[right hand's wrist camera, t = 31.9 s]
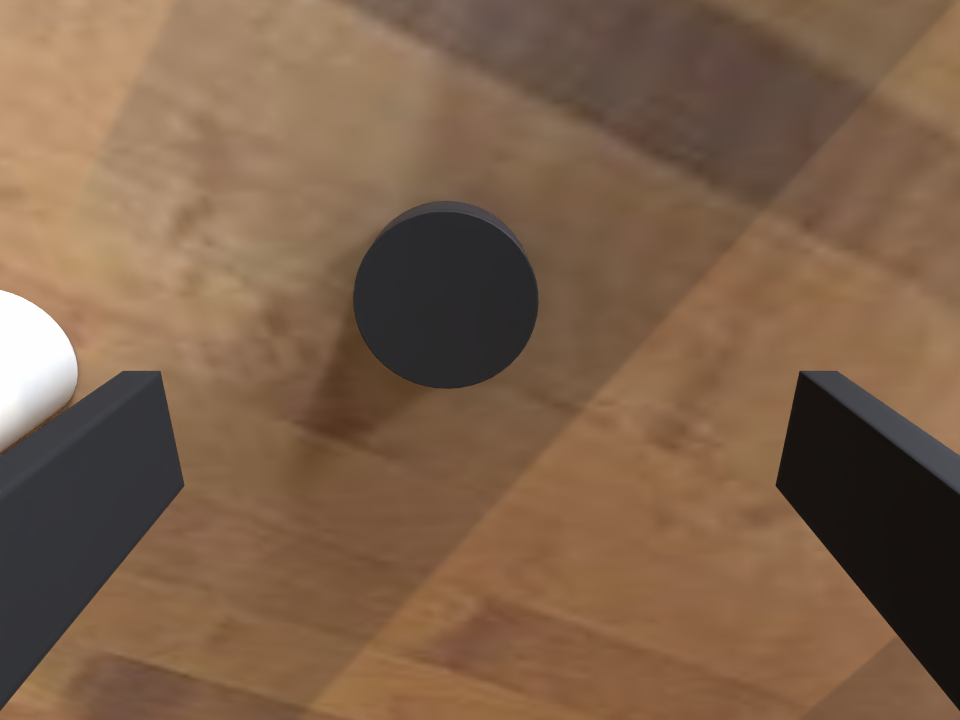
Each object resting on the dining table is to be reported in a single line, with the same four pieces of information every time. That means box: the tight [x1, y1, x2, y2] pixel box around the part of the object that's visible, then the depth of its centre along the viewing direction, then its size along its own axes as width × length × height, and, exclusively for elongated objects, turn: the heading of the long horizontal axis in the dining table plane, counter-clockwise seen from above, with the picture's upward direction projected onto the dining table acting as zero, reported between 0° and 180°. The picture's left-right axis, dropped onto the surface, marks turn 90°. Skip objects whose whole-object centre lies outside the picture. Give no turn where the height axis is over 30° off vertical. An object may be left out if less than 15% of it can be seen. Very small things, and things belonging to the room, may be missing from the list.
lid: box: [354, 201, 538, 389], centre depth 21 cm, size 6×6×2 cm
